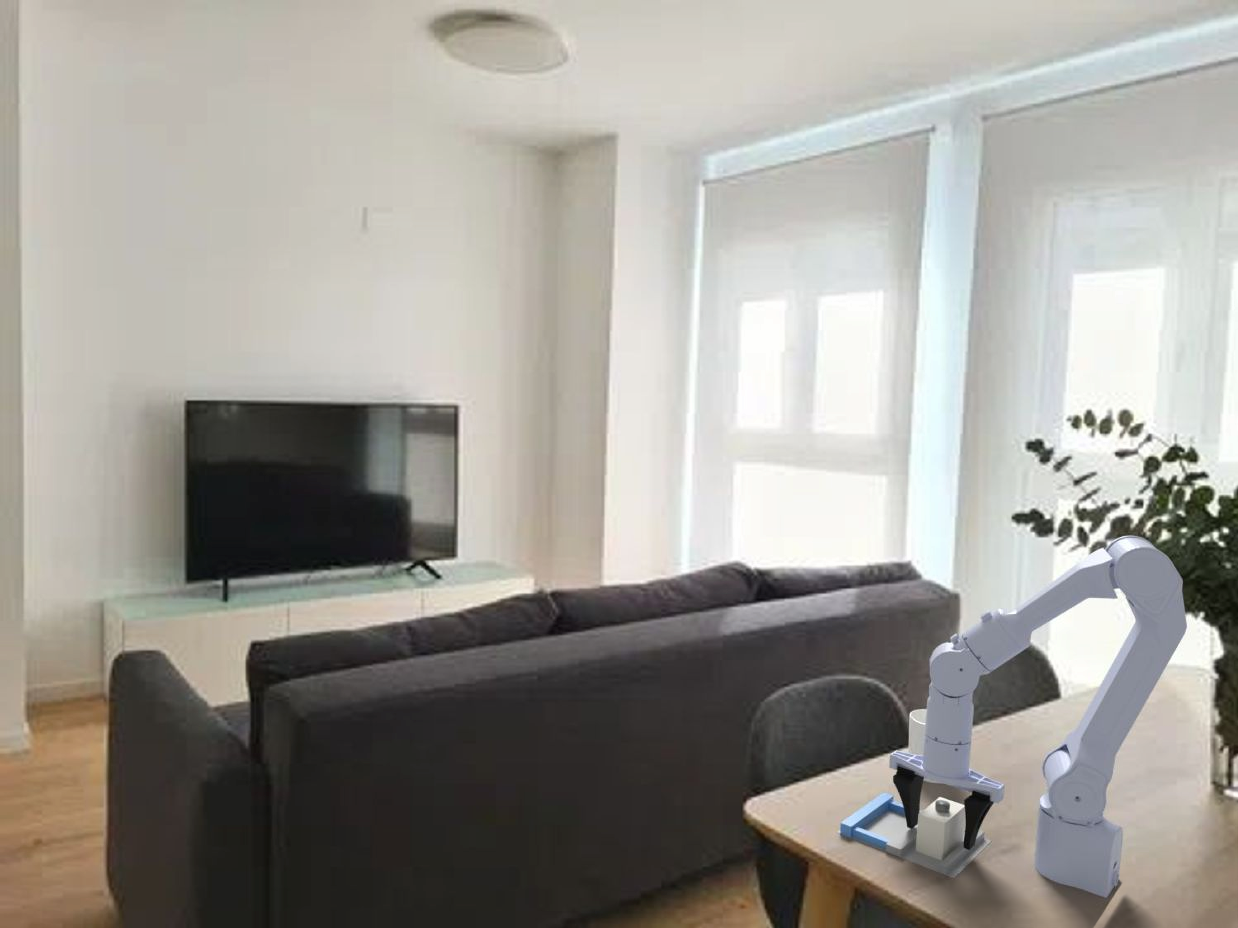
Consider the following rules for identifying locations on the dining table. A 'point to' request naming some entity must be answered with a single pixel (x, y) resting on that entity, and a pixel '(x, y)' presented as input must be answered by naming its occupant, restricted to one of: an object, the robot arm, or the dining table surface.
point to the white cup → (918, 734)
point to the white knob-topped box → (940, 828)
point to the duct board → (903, 836)
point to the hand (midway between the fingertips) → (940, 835)
